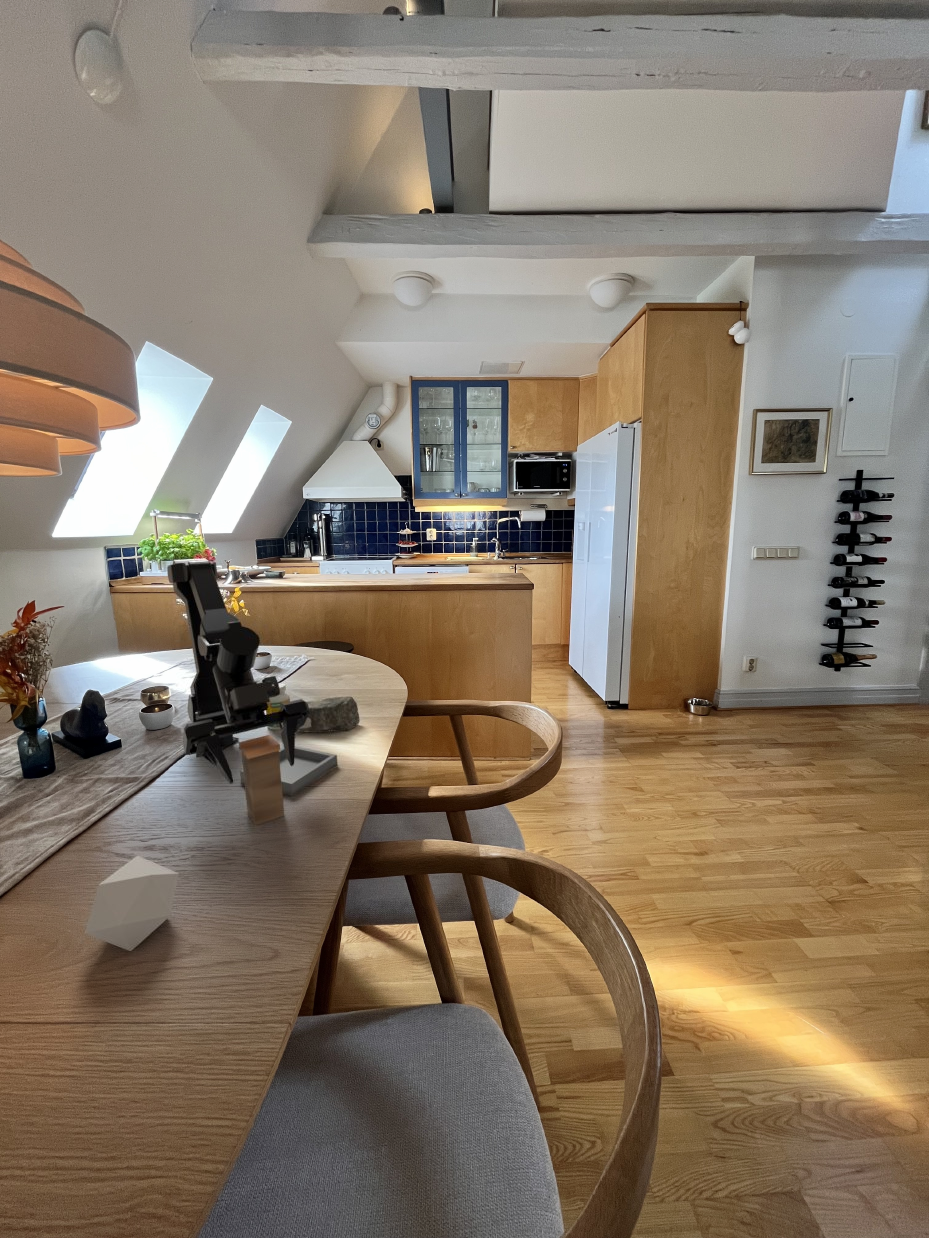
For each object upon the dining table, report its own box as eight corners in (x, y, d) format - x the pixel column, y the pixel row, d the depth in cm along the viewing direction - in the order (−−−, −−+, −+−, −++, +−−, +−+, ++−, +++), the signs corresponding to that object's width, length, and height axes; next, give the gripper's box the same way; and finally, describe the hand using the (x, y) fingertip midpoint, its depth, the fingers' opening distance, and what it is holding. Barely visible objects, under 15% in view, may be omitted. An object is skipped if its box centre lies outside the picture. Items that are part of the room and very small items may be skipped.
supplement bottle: (288, 719, 122) (285, 680, 120) (294, 726, 118) (291, 686, 116) (264, 724, 119) (261, 684, 117) (270, 732, 115) (266, 690, 113)
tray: (240, 782, 93) (239, 770, 92) (288, 754, 103) (288, 744, 103) (292, 795, 88) (291, 783, 87) (337, 765, 98) (336, 754, 98)
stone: (305, 758, 111) (281, 716, 110) (310, 749, 119) (288, 710, 118) (364, 724, 113) (341, 683, 112) (366, 717, 120) (344, 679, 120)
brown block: (245, 812, 83) (238, 742, 81) (276, 802, 86) (269, 734, 83) (254, 826, 79) (247, 752, 77) (286, 815, 82) (279, 744, 80)
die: (143, 901, 64) (76, 870, 59) (202, 867, 64) (141, 832, 59) (127, 972, 58) (50, 943, 52) (193, 933, 57) (122, 901, 52)
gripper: (177, 673, 76) (200, 770, 69) (301, 652, 87) (332, 734, 80) (174, 710, 84) (195, 800, 77) (289, 686, 95) (316, 764, 88)
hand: (263, 773), depth 80 cm, fingers open, 9 cm apart
